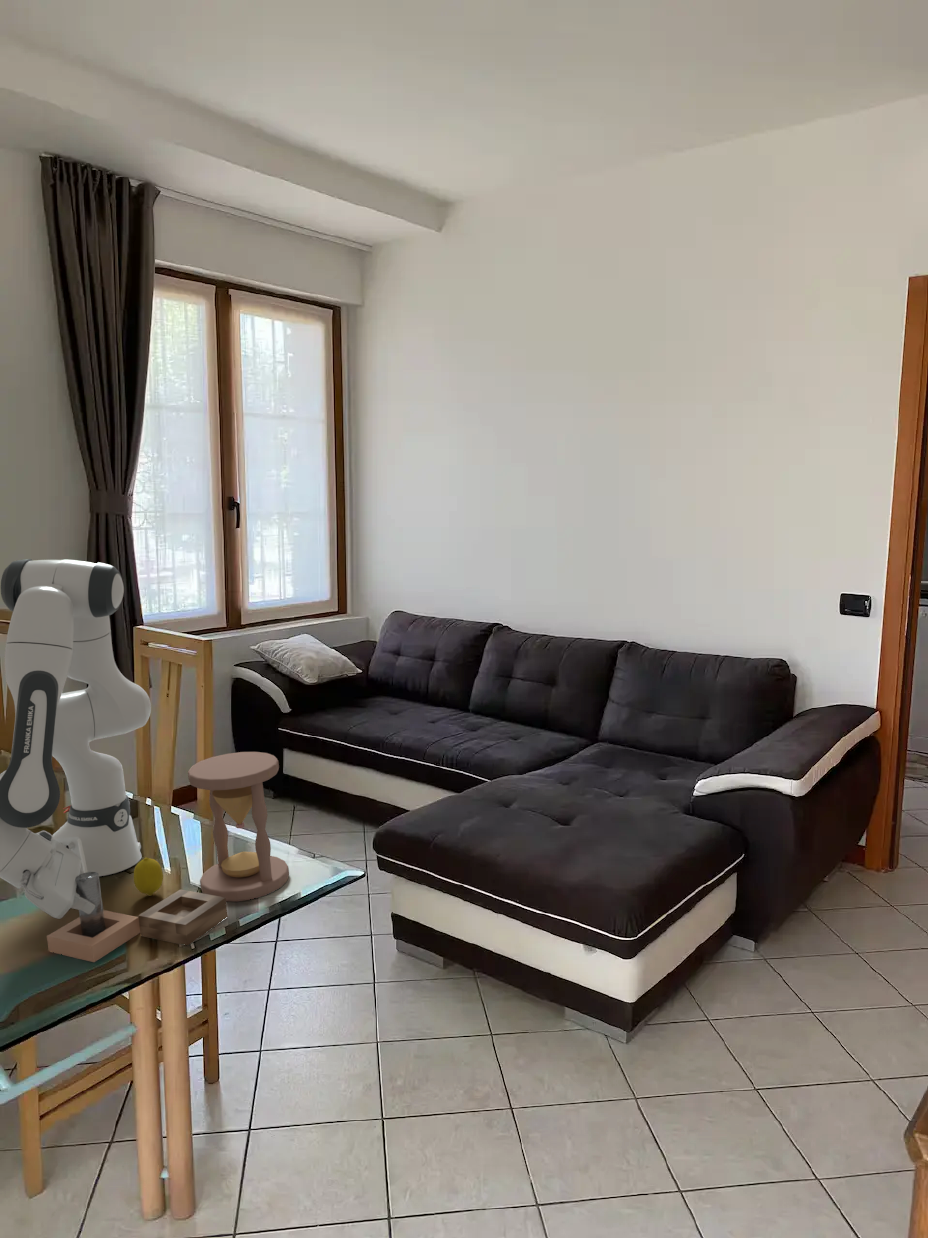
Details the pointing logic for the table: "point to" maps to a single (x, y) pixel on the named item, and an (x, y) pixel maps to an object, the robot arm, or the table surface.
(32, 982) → the table surface
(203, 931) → the square peg hole block
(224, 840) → the hourglass
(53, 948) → the socket collar
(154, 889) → the lemon
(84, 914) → the steel peg
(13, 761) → the robot arm
